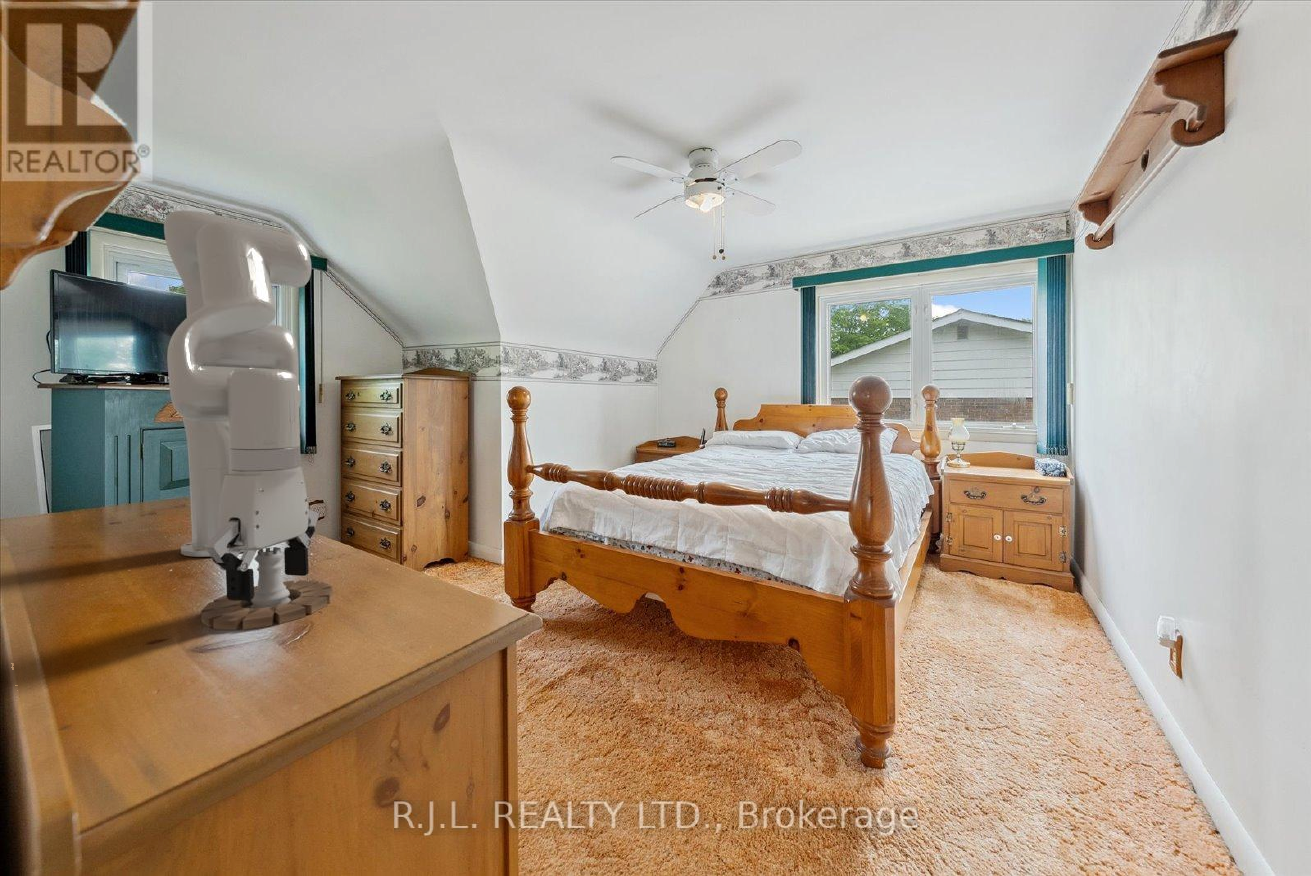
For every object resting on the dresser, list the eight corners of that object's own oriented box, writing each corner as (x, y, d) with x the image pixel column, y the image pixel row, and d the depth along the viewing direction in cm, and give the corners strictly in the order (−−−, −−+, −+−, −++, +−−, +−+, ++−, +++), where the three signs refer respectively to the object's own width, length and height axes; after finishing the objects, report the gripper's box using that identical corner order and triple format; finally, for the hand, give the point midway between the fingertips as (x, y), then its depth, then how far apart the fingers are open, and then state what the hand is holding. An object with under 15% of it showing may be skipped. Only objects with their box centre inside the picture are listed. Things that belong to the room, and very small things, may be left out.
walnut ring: (266, 586, 77) (265, 578, 77) (353, 590, 76) (353, 582, 76) (172, 626, 63) (171, 617, 63) (277, 632, 62) (277, 623, 62)
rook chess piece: (269, 615, 67) (267, 555, 67) (241, 611, 68) (239, 553, 68) (299, 602, 72) (297, 546, 71) (273, 599, 73) (271, 544, 72)
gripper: (290, 453, 77) (294, 564, 78) (175, 468, 60) (181, 610, 61) (337, 455, 77) (340, 567, 78) (234, 470, 59) (239, 614, 61)
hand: (270, 586), depth 70 cm, fingers open, 8 cm apart
